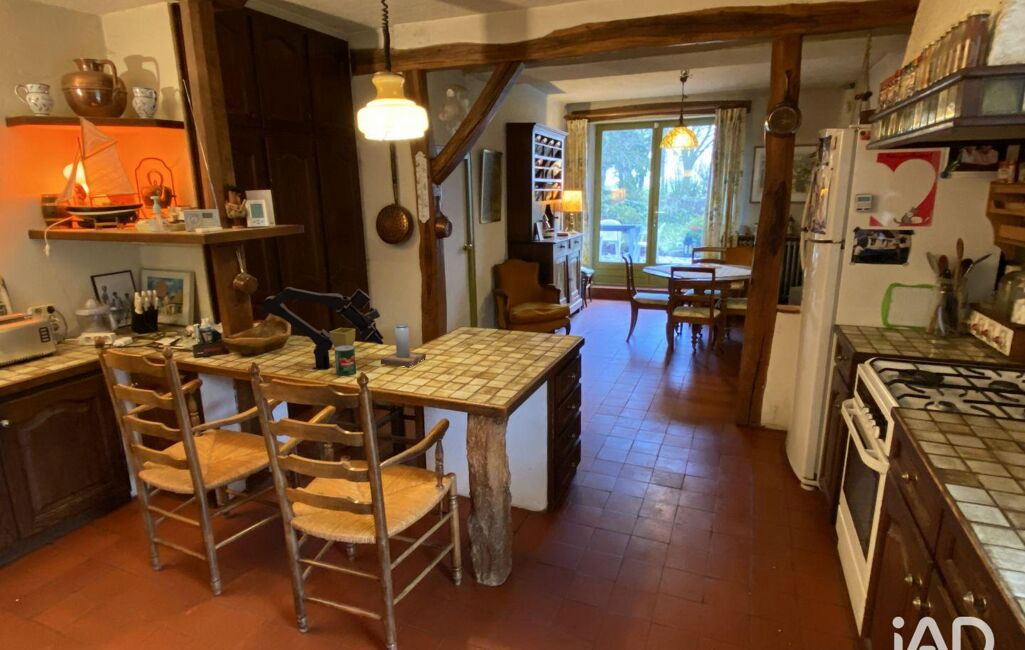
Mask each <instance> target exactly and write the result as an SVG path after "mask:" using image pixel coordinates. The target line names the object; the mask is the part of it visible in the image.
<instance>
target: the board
mask: <svg viewBox="0 0 1025 650" xmlns="http://www.w3.org/2000/svg"><path fill="white" fill-rule="evenodd" d="M425 358H426V359H427V353H422V352H412V351H410V356H409V357H407V358H398V357H397V353H396V351H395V352H392V353H391V354H389V355H387V356H384V357H382V358H380V365H381V364H385V365H384V366H388V365H394V366H393V367H396V366H405V367H410V366H412V365H414V364H416V363H418V362H420V361H421V360H423V359H425ZM420 363H421V362H420ZM418 364H419V363H418ZM416 365H417V364H416ZM414 366H415V365H414ZM405 367H404V368H405ZM412 367H413V366H412ZM410 368H411V367H410Z"/></svg>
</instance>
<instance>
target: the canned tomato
mask: <svg viewBox="0 0 1025 650" xmlns="http://www.w3.org/2000/svg"><path fill="white" fill-rule="evenodd" d="M355 350H356V349H355V346H354V345H353V346H351V345H343V346H338V347H334V362H335V363H334V364H335V375H336V376H337V377H339V376H348V377H351V376H350V375H353V376H355V375H356V374H357V364H356V353H355V352H356V351H355ZM354 374H355V375H354Z"/></svg>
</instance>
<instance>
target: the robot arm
mask: <svg viewBox="0 0 1025 650" xmlns="http://www.w3.org/2000/svg"><path fill="white" fill-rule="evenodd" d="M289 299H295V300H299V301H300V300H301V301H305V302H309V303H310V302H311V303H316V304H320V305H323V306H325V307H327V308H330V309H332V310H336V311H335V313H336V318H337V319H339V318H340V317H342V316H343V317H344V318H345V319H346V320H347V321H348V322H349V323H351V326H353V327H355V329H358V331H359V333H360V338H361V339H362V340H365V341H369V342H371V343H375V344H378V345H381V346H382V345H383V344H384V341H383V339H384V336H383V335H382V334H381V333H380V331H379V329H378V328H377V325H376V324H377V323H376V319H378V318H380V317H381V314H380V312H379V310H378V309H377V308H374V307H370V308H369V309H368V311H367V313H363V312H360V311H359V310H360V309H361V310H363V309H364V307H366V306H367V305H368V303H369V302H371V300H372V298H371V297H370V295H368V294H367V293H366V292H364V291H362V290H361V289H360V288H358V289H356V291H355V292H354V293H353V294H352V296H345V295H342V294H340V293H335V292H334V293H332V292H330V293H329V292H327V293H320V292H315V291H310V290H305V289H301V288H300V289H299V288H295V287H292V286H288V287H286V288H285V289H284V290H282V291H280V292H278V293H277V294H275V295H270V296H267V297H266V298H265V299H264V300H263V302H262V308H263V310H264V311H265V312H266V313H268V314H270V315H272V316H275V317H278V318H280V319H282V320H284V321H285V322H287V323H288V324H290V325H291V326H293V327H294V328H295V329H297V331H299V332H301V333H303V334H304V335H305V336H307V337H308V338H309V339H310V340H311V341H312V343H313V344H314V345H315V346H314V349H313V351H312V352H313V354H314V361H315V362H314V363H315V365H314V366H312V370H329V369H330V368H332V367H333V366H334V364H333V363H331V361H330V351H331V350H332V349H333V347H334V345H333V342H334V341H333V338H332V337H331V334H330V332H328V331H326V330H325V329H324V328H322V330H318V329H316V328H315V327H313V326H311V325H310V323H308V322H306V321H305V320H303V319H302V318H301V317H299V316H298V315H297V314H295V313H293V311H291V310H289V309H288V308H287V306H286V305H285V304H284V302H286V301H287V300H289ZM339 309H340V310H339ZM328 368H329V369H328Z"/></svg>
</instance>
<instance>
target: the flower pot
mask: <svg viewBox="0 0 1025 650" xmlns="http://www.w3.org/2000/svg"><path fill="white" fill-rule="evenodd" d="M356 329H357V328H349V327H339V328H337V329H333V330H331V331H329V334H331V337H332V338H333V341H334V342H333V347H334V348H335V347H338V346H343V345H351V346H354V343H355V340H356Z"/></svg>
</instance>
